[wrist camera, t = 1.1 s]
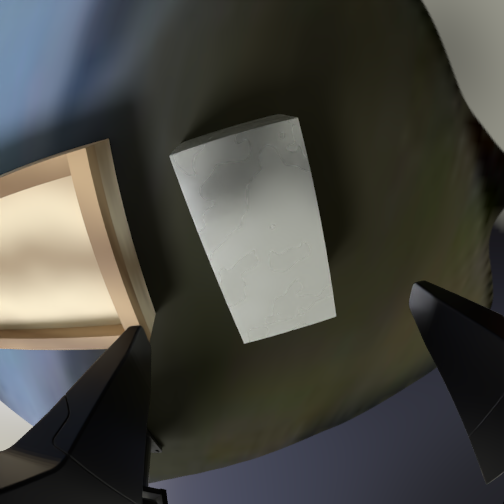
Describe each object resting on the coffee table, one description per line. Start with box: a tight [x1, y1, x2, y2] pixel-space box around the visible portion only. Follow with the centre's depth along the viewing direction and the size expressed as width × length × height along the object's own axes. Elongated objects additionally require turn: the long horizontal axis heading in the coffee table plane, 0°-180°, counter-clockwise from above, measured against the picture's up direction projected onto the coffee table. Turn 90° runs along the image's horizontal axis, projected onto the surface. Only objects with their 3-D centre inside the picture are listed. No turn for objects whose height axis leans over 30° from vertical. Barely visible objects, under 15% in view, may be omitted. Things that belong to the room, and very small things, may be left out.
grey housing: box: [170, 114, 336, 344], centre depth 15 cm, size 10×5×4 cm, turn 16°
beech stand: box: [0, 139, 156, 350], centre depth 14 cm, size 11×16×3 cm
